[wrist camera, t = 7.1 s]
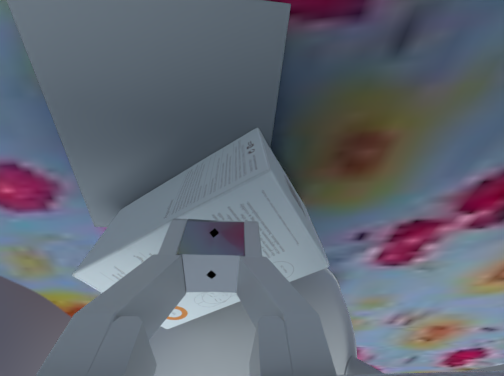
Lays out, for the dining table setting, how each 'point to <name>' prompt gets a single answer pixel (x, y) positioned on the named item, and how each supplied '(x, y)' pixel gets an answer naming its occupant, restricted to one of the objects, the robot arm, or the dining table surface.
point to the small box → (212, 208)
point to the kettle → (243, 332)
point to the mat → (151, 84)
